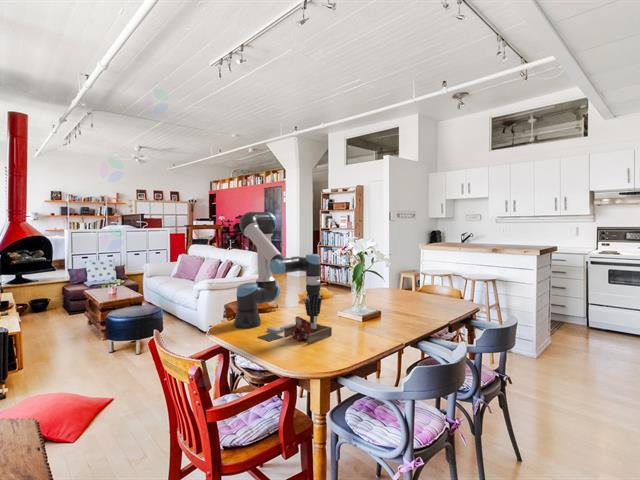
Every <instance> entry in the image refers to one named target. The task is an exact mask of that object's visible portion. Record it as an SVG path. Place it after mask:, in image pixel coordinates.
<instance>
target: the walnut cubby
mask: <svg viewBox="0 0 640 480" xmlns="http://www.w3.org/2000/svg"><path fill="white" fill-rule="evenodd" d="M307 324H308V328H309V331H310V332H311V334H309V335H307V339H306V341H307V342H306V343H307V345H311V344H315V343H317V342H319V341H322V340H325V339H327V338H330V337H332V335H333V334H332V332H333V331H332V330H333V329H332V327H331V326H328V325H324V324H320V323H317V322H316V329H312V328H311V323H310V320H307ZM293 330H296V325H293V326H290V327H286V328H284V332H283V334H284V337H285V338H287V337H291V336H292V331H293Z"/></svg>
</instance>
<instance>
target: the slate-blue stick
mask: <svg viewBox="0 0 640 480" xmlns="http://www.w3.org/2000/svg"><path fill="white" fill-rule="evenodd" d="M266 330H267V332H269V333H273V334H276V335H280V334H281V333H282V332H280V328H279V329H278V328H276V327H271V326H269V327H267V328H266Z"/></svg>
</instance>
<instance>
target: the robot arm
mask: <svg viewBox="0 0 640 480" xmlns="http://www.w3.org/2000/svg"><path fill="white" fill-rule="evenodd" d="M277 227H278V222H277V218H276V216H275V215H274V214H273V213H271V212H270V211H269V212H267V211H248V212H246V213H244V214H243V215H242V216H241V218H240V219H239V229H240V231H241V233H242V234H243V235H244V236H245V237H247V238H249V240H250V241H251V242H252V243H253V245H255V247H256V252H257V253H256V255H257V257H256V258H257V276H258V277H257V279H256V280H255V282H244V283H241V284H239V285H238V286H237V287H236V314H235V317H234V320H233V326H234V327H235V328H239V329H252V328H257V327H259V326H260V325H261V323H262V322H261V321H262V320H261V316H260V314H259V311H258V309H259V308H258V307H259V306H258V305H261V304H266V303H271V302H274V301H276V300H277V299H279V297H280V294H281V287H280V285H279V283H278V282H277V281H276V278H275V277H274V276H273V274H274V275H282V274H288V273H296V272H305V283H306V285H305V292H307V293H306V297H305V298H303V302H304V306H305V312H306V316H308V317H309V322H310V323H311V328H312V329H316V323H317V321H318V317H319V314H321V313H320V312H321V306H322V300H323V297H324V296H323V295H322V294H321V293H320V291H321V255H319V254H318V253H308V254H306V255H305V257H304V256H303V257H302V256H291V257H287V258H285V257H284V255H283V254H282V253H281V252H280V251H279V250H278V249H277V247H275V245H274V244H273V243H272V236H273V235H274V231H276V229H277Z"/></svg>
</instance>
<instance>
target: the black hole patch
mask: <svg viewBox="0 0 640 480" xmlns="http://www.w3.org/2000/svg"><path fill="white" fill-rule="evenodd" d="M281 338H283V336H282V335H280V334H275V333H272V332H269V333H266V334H263V335H260V336H257V339H260V340H263V341H267V342H272V341H274V340H278V339H281Z"/></svg>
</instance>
